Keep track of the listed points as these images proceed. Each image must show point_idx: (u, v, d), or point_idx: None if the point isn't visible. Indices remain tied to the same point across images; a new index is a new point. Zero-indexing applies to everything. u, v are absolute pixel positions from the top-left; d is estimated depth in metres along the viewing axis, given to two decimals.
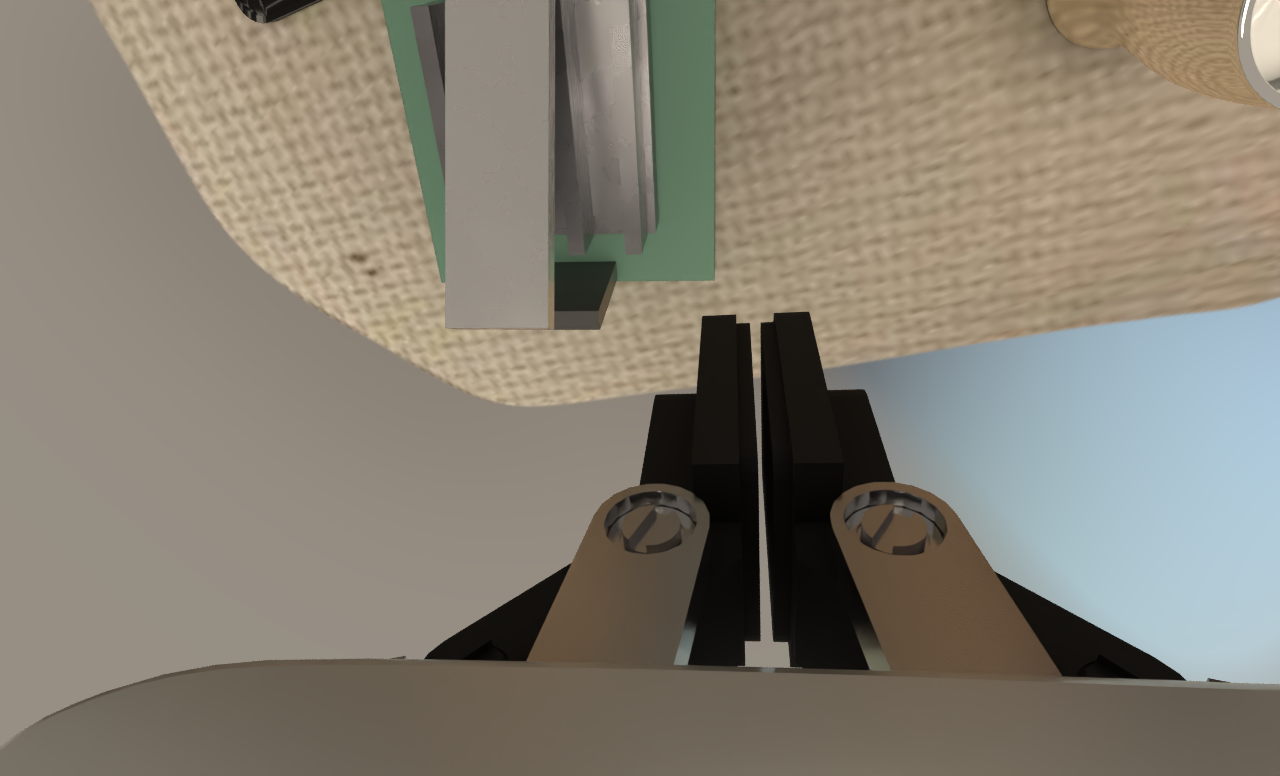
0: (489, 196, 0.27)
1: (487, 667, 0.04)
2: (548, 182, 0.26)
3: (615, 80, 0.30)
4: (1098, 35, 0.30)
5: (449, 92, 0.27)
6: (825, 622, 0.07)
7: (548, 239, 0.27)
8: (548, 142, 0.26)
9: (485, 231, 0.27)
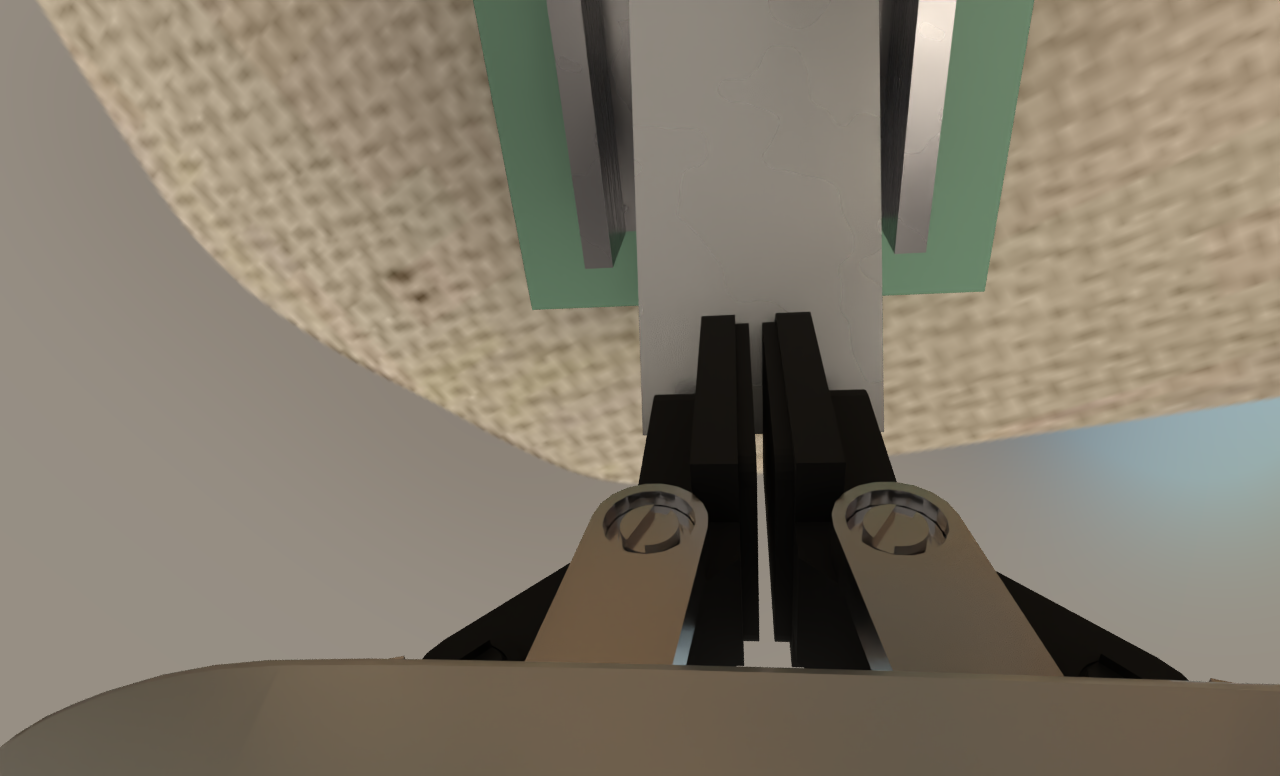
0: (738, 134, 0.12)
1: (487, 667, 0.04)
2: (878, 95, 0.11)
3: None
4: None
5: None
6: (827, 622, 0.07)
7: (880, 228, 0.11)
8: None
9: (729, 216, 0.12)
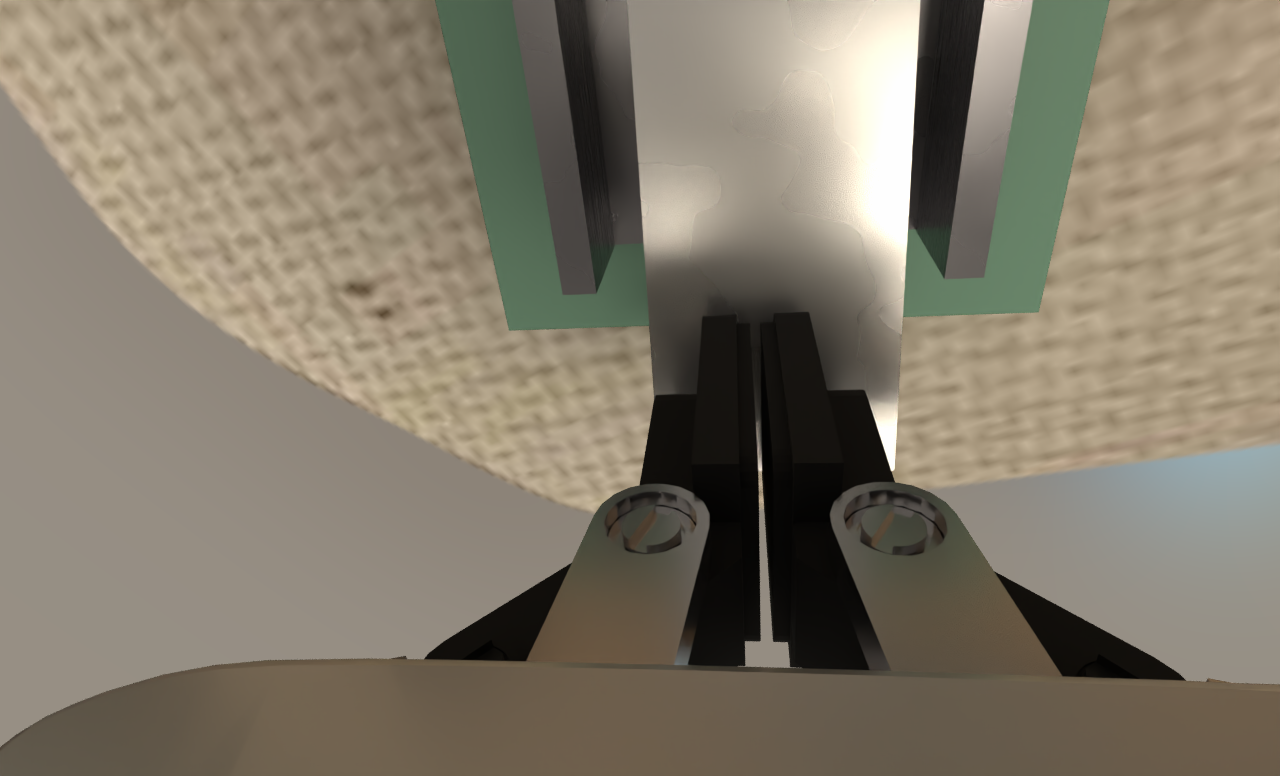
0: (755, 174, 0.11)
1: (487, 667, 0.04)
2: (911, 128, 0.10)
3: None
4: None
5: None
6: (825, 622, 0.07)
7: (903, 274, 0.11)
8: (918, 13, 0.10)
9: (744, 261, 0.11)
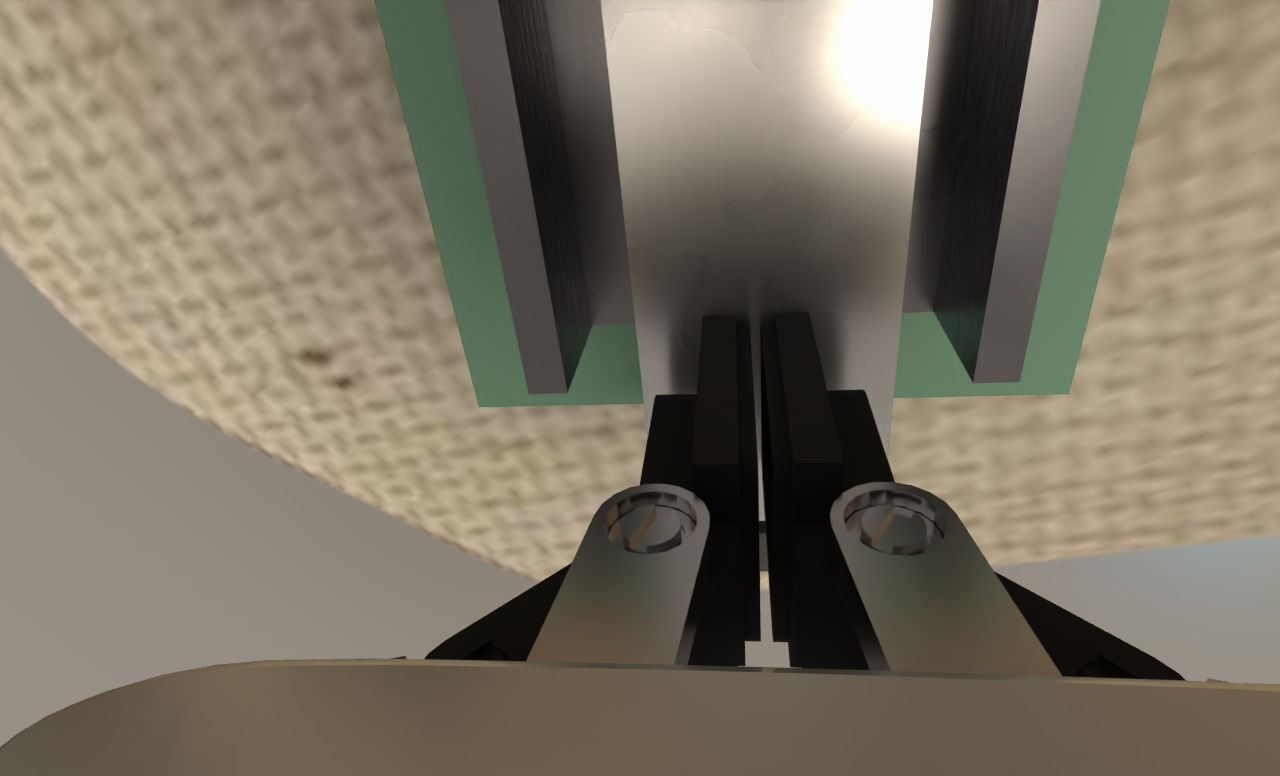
0: (747, 261, 0.10)
1: (487, 667, 0.04)
2: (909, 217, 0.10)
3: None
4: None
5: None
6: (825, 622, 0.07)
7: (896, 352, 0.11)
8: (920, 106, 0.09)
9: None
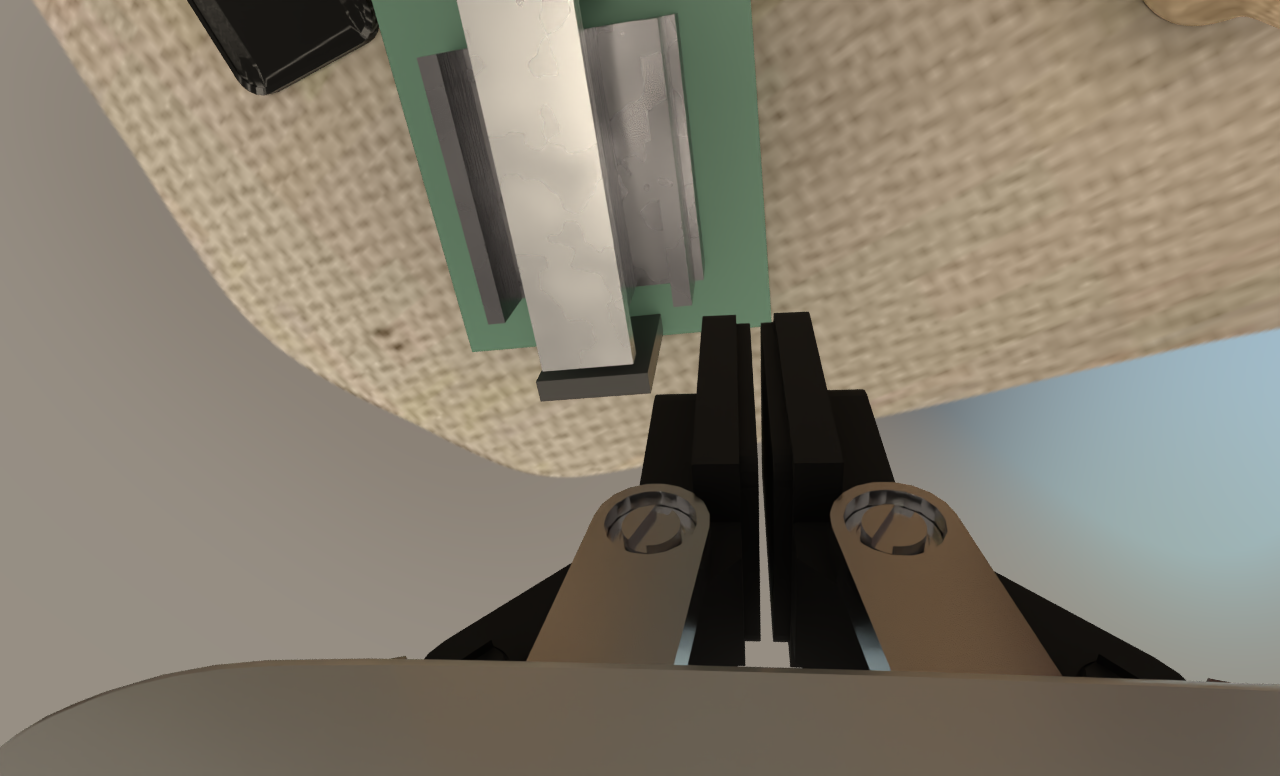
0: (559, 256, 0.28)
1: (487, 668, 0.04)
2: (612, 237, 0.28)
3: (649, 115, 0.27)
4: (1208, 8, 0.26)
5: (498, 160, 0.27)
6: (825, 622, 0.07)
7: (621, 289, 0.28)
8: (606, 200, 0.27)
9: (561, 288, 0.29)
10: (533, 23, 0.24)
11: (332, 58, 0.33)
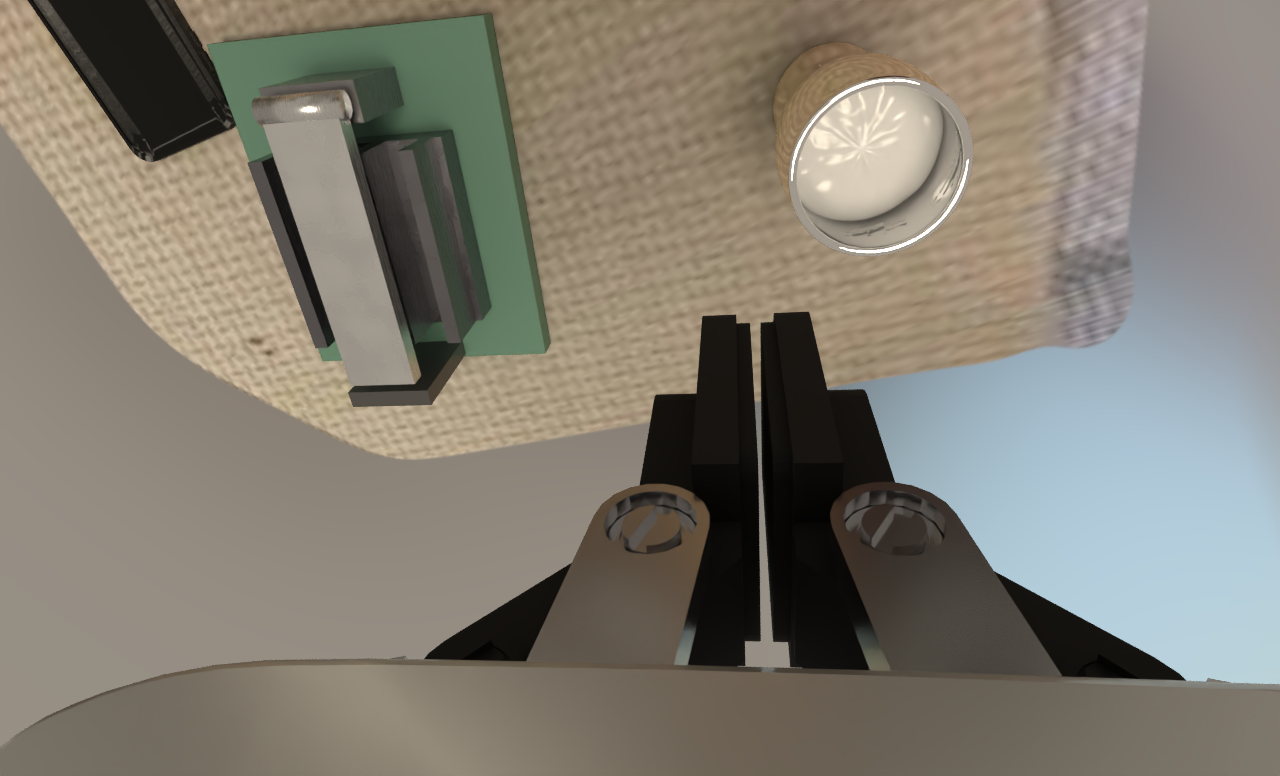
0: (354, 307, 0.39)
1: (487, 667, 0.04)
2: (390, 296, 0.39)
3: (414, 212, 0.38)
4: None
5: (304, 239, 0.37)
6: (825, 622, 0.07)
7: (400, 331, 0.40)
8: (382, 271, 0.38)
9: (358, 328, 0.40)
10: (319, 153, 0.35)
11: (203, 139, 0.43)
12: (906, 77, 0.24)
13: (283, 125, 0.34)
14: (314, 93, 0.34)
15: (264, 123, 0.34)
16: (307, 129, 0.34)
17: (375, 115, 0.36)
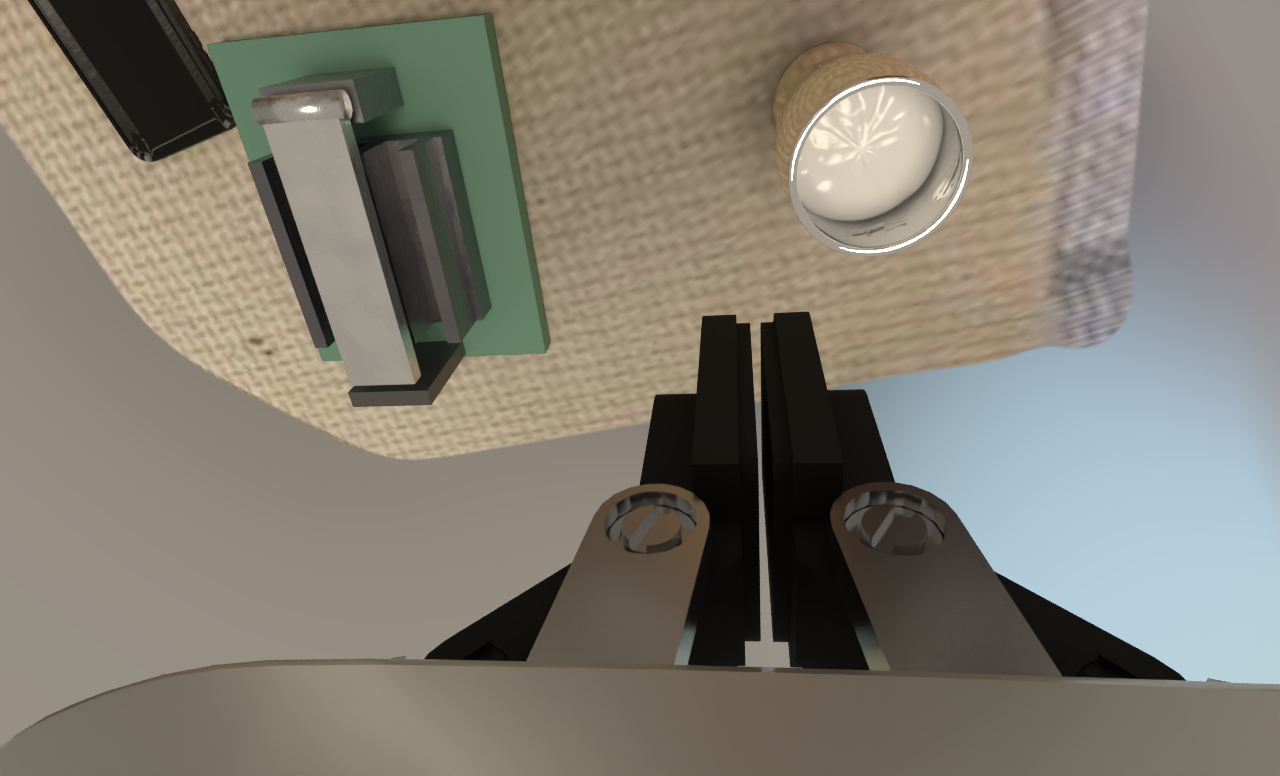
0: (354, 307, 0.39)
1: (487, 667, 0.04)
2: (390, 296, 0.39)
3: (414, 212, 0.38)
4: None
5: (304, 239, 0.37)
6: (825, 622, 0.07)
7: (400, 331, 0.40)
8: (382, 271, 0.38)
9: (358, 328, 0.40)
10: (319, 153, 0.35)
11: (202, 140, 0.43)
12: (906, 77, 0.24)
13: (283, 125, 0.34)
14: (314, 93, 0.34)
15: (264, 123, 0.34)
16: (307, 129, 0.34)
17: (375, 115, 0.36)
